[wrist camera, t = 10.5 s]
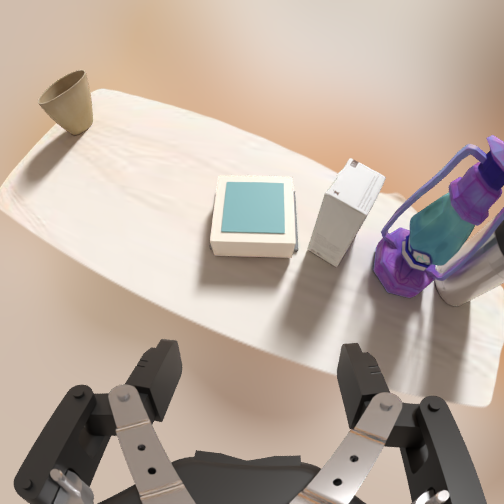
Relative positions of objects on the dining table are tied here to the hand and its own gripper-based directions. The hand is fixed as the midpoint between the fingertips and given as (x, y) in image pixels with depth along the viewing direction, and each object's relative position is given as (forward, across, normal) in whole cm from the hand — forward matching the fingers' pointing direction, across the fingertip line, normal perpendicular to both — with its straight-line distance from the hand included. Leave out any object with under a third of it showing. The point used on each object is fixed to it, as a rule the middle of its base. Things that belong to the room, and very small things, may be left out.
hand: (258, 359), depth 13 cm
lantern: (+31, -23, +7) cm, 39 cm away
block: (+29, +2, +3) cm, 29 cm away
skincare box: (+34, -11, +3) cm, 36 cm away
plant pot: (+56, +52, -25) cm, 81 cm away
